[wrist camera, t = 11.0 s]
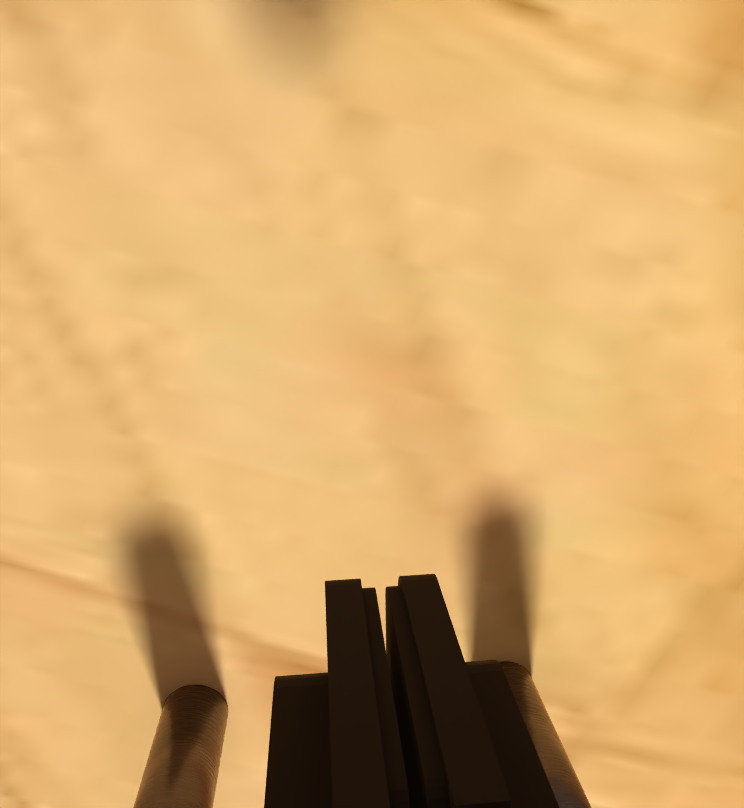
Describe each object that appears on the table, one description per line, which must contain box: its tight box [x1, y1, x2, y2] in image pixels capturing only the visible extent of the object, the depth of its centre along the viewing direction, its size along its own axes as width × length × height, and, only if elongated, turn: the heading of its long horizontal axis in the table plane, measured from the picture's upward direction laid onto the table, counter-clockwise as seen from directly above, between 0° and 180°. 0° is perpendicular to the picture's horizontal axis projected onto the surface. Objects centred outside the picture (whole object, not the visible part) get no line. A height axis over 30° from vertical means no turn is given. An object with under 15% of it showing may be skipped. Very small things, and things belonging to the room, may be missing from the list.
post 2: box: [499, 662, 591, 808], centre depth 23 cm, size 3×3×9 cm
